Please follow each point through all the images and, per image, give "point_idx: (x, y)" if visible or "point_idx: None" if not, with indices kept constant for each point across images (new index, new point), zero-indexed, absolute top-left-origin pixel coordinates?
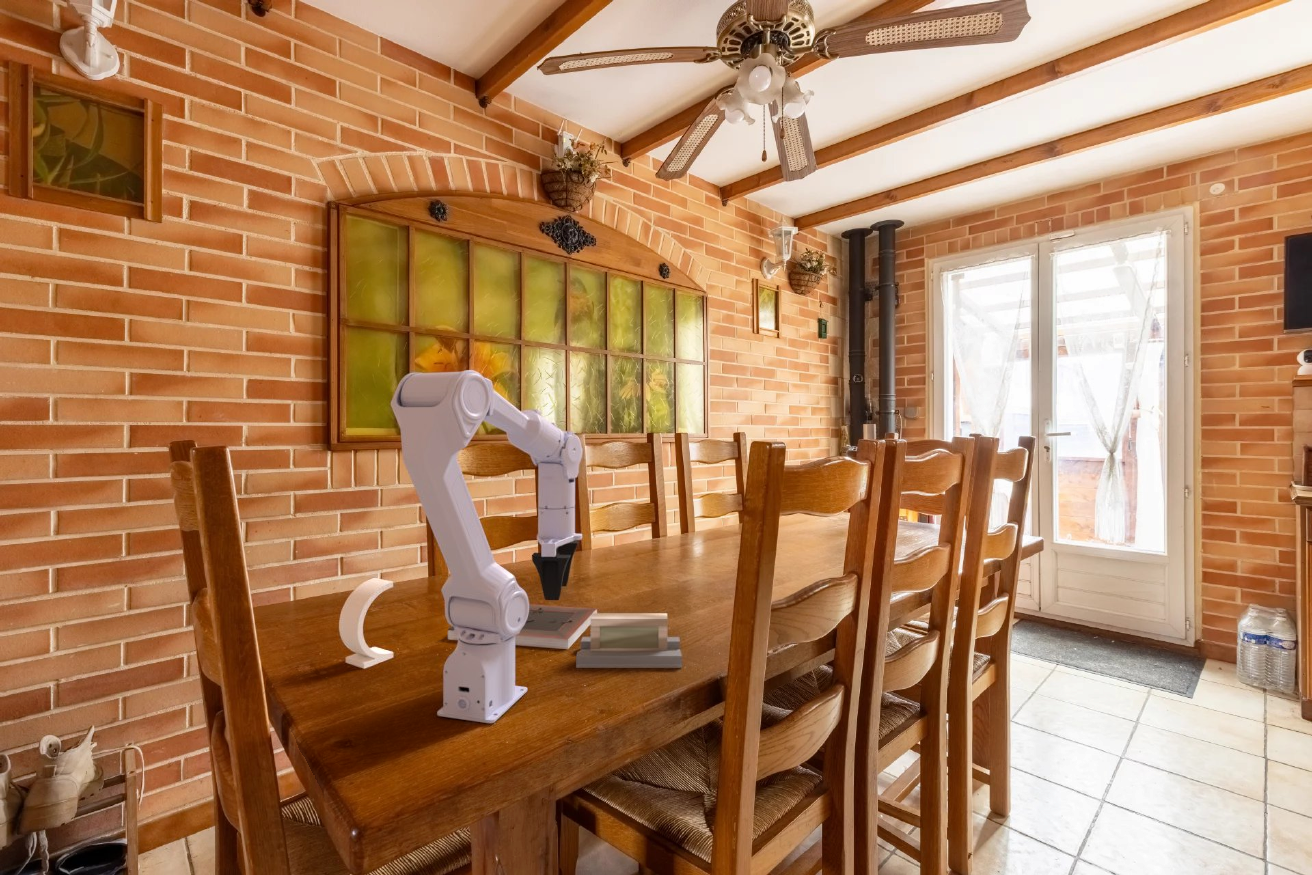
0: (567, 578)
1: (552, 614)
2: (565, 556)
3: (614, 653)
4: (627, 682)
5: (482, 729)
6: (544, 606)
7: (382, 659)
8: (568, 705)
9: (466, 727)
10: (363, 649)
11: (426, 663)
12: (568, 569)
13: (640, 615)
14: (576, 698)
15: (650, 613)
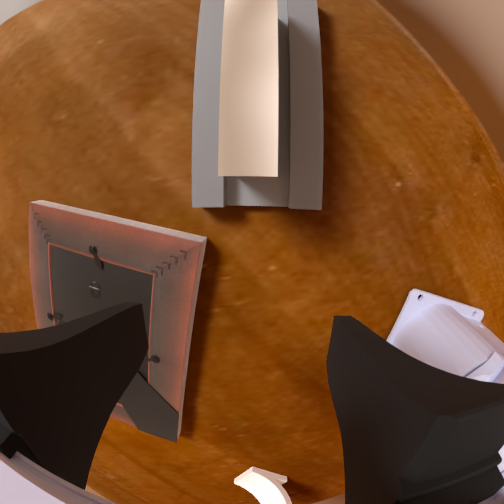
0: (125, 312)
1: (64, 292)
2: (492, 429)
3: (307, 116)
4: (386, 101)
5: (484, 318)
6: (38, 309)
7: (266, 472)
8: (459, 212)
9: None
10: (287, 494)
11: (276, 439)
12: (99, 328)
13: (246, 23)
14: (442, 199)
15: (225, 2)
